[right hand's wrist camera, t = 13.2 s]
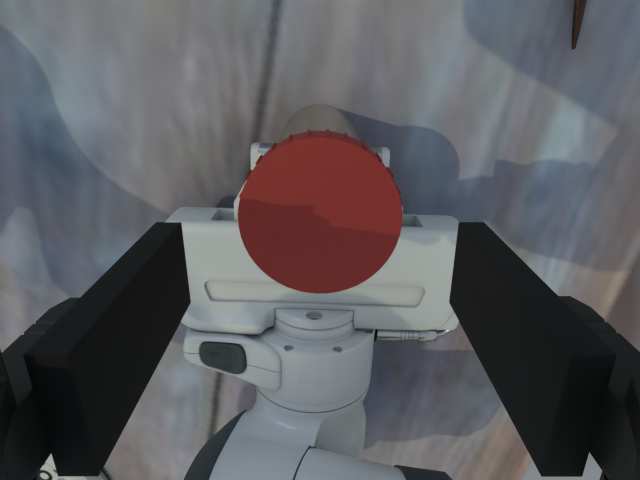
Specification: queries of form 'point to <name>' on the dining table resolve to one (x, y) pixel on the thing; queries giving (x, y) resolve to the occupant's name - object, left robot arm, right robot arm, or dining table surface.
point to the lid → (320, 212)
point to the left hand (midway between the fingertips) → (319, 146)
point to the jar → (320, 122)
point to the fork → (577, 20)
